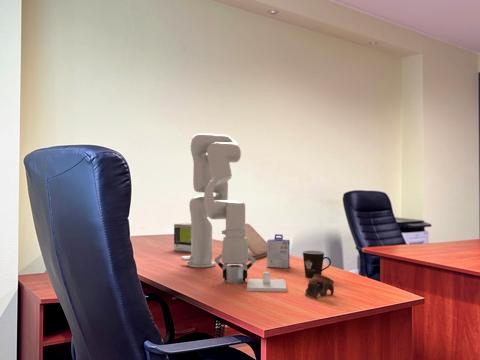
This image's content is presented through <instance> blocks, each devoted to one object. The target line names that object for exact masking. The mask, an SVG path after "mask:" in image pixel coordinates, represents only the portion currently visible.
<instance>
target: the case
mask: <svg viewBox="0 0 480 360" xmlns="http://www.w3.org/2000/svg"><path fill="white" fill-rule="evenodd" d="M245 237H247V241H248V253H249V254H250V255H251V256H252V257H253V258H254V259H255V260H258V259H261V258H263V257H267V241H266V240H265V239H264V238H263V237H262V236H261V235H260V234H259V233H258V231H257V230H256V229H255V228H254V227H253V226H252V225H251V224H249V223H245ZM248 260H250V259H249V258H248Z"/></svg>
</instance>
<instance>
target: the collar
mask: <svg viewBox="0 0 480 360" xmlns="http://www.w3.org/2000/svg"><path fill="white" fill-rule="evenodd" d="M243 271H244V267H243V265H242V264H227V266H226V281H225V283H228V284H232V285H233V284H235V285H236V284H237V285H240V284H244V282H245V281H243Z"/></svg>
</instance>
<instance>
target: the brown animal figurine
mask: <svg viewBox="0 0 480 360" xmlns="http://www.w3.org/2000/svg"><path fill="white" fill-rule="evenodd" d="M334 283H335V281H334V280H332V279H331V278H329V277H327V276H325V275H323V274H321V275H319V274H314V275H313V277H312V278H309V279H308V283H307V288H306V289H305V294H304V296H308V297H311V298H314V299H316V300H317V299H318V297H323V298H324V297H326V296H327V295H328V294H327V293H328V291H330V295H331V296H333V295H334V293H335V290H334V288H335V285H334Z"/></svg>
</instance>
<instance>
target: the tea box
mask: <svg viewBox="0 0 480 360" xmlns="http://www.w3.org/2000/svg"><path fill="white" fill-rule="evenodd" d="M173 232H174V233H173V250H174V251H178V252H179V251H180V252H189V253H191V222H182V223H174V224H173Z"/></svg>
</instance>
